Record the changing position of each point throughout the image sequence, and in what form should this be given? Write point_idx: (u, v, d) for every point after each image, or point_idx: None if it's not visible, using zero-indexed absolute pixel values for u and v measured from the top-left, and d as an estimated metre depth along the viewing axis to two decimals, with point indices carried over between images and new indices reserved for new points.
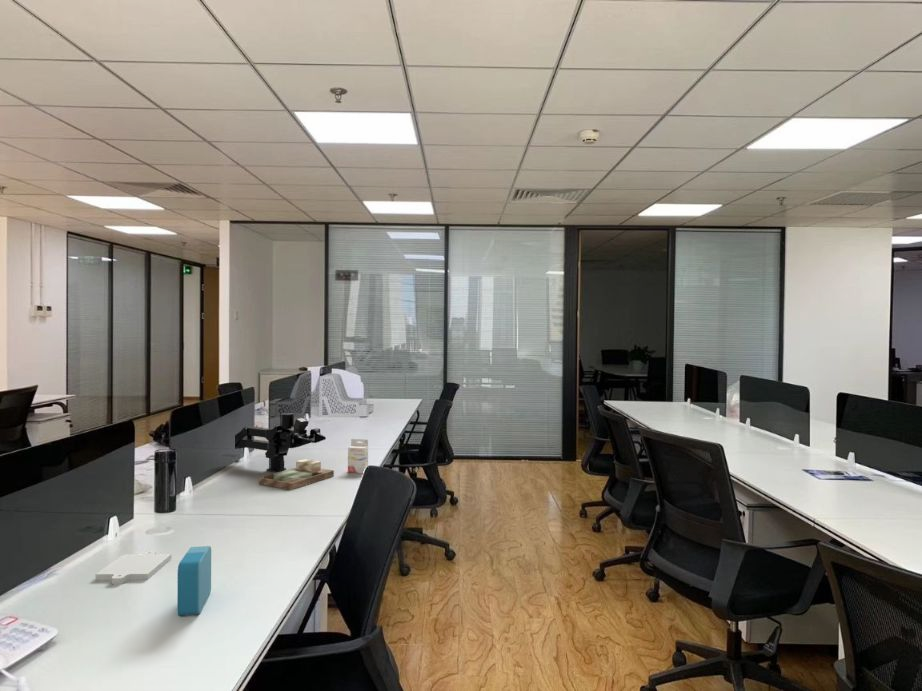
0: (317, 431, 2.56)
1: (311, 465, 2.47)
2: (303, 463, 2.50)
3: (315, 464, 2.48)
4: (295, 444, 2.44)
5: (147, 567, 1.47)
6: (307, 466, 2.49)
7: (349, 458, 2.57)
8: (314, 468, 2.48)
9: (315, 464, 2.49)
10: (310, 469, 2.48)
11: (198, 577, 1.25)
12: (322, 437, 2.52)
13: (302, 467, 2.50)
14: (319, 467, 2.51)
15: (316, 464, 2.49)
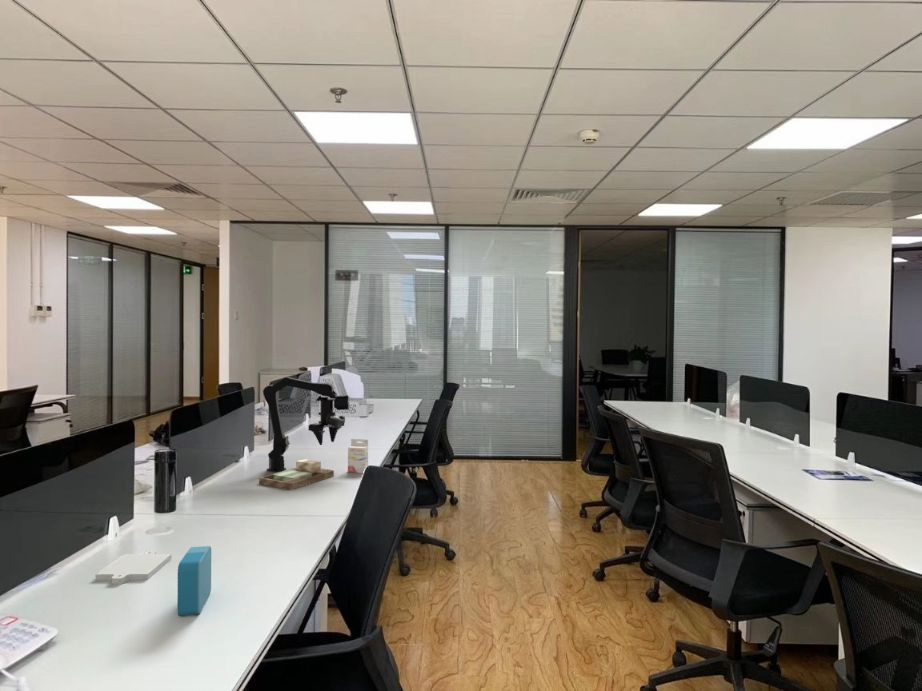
0: (338, 429, 2.66)
1: (311, 465, 2.47)
2: (303, 463, 2.50)
3: (315, 464, 2.48)
4: (314, 431, 2.57)
5: (147, 567, 1.47)
6: (307, 466, 2.49)
7: (349, 458, 2.57)
8: (314, 468, 2.48)
9: (315, 464, 2.49)
10: (310, 469, 2.48)
11: (198, 577, 1.25)
12: (332, 438, 2.65)
13: (302, 467, 2.50)
14: (319, 467, 2.51)
15: (316, 464, 2.49)
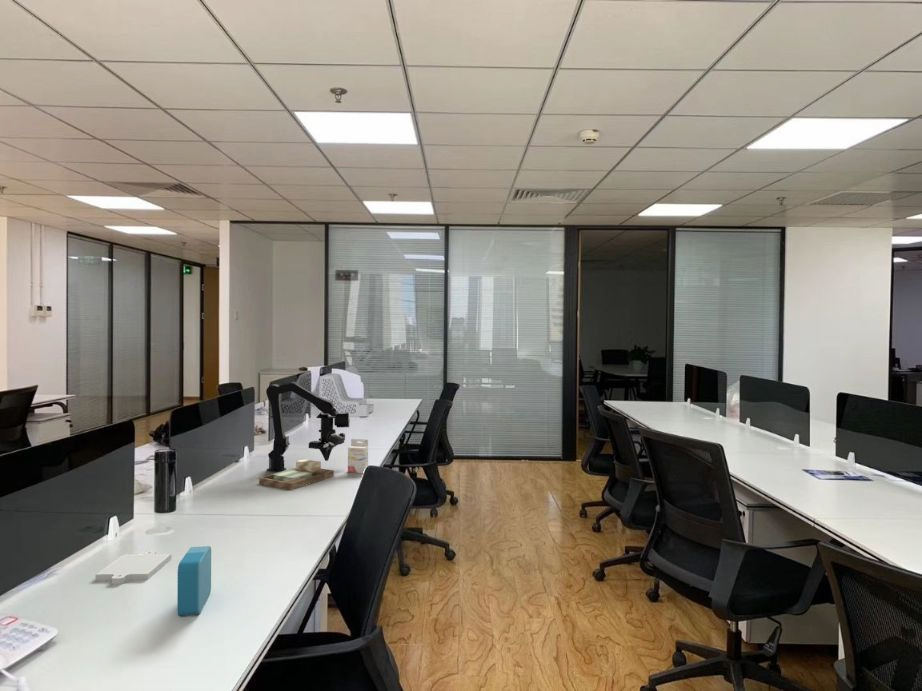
0: (332, 447, 2.62)
1: (311, 465, 2.47)
2: (303, 463, 2.50)
3: (315, 464, 2.48)
4: None
5: (148, 567, 1.47)
6: (307, 466, 2.49)
7: (349, 458, 2.57)
8: (314, 468, 2.48)
9: (315, 464, 2.49)
10: (310, 469, 2.48)
11: (198, 577, 1.25)
12: None
13: (302, 467, 2.50)
14: (319, 467, 2.51)
15: (316, 464, 2.49)
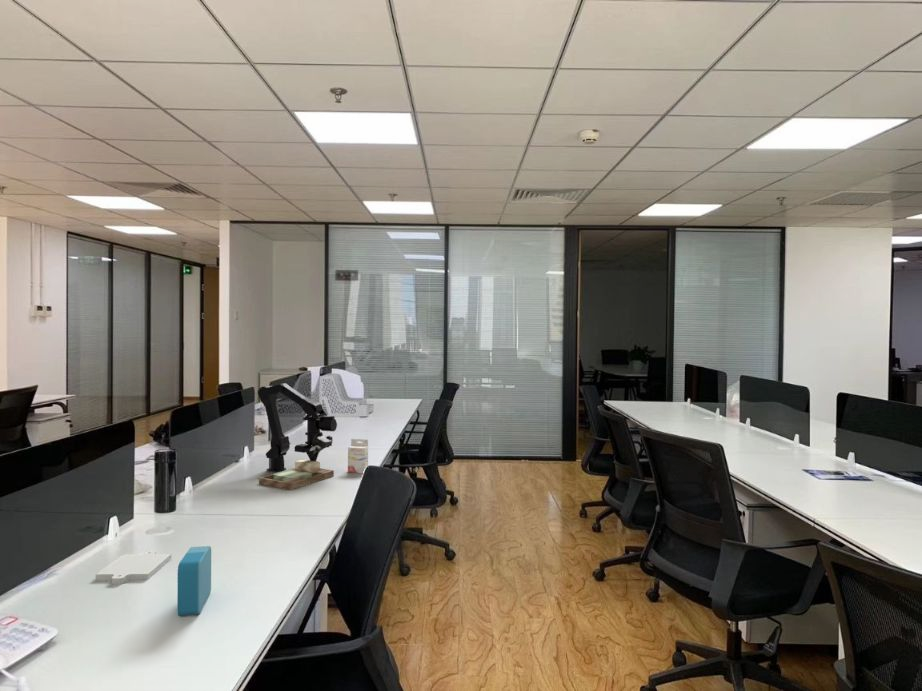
0: (319, 451, 2.55)
1: (310, 465, 2.47)
2: (302, 463, 2.49)
3: (314, 464, 2.48)
4: None
5: (148, 567, 1.47)
6: (306, 466, 2.48)
7: (349, 458, 2.57)
8: (313, 468, 2.47)
9: (315, 465, 2.48)
10: (309, 469, 2.47)
11: (198, 577, 1.25)
12: (313, 460, 2.54)
13: (301, 467, 2.49)
14: (318, 467, 2.50)
15: (315, 464, 2.49)
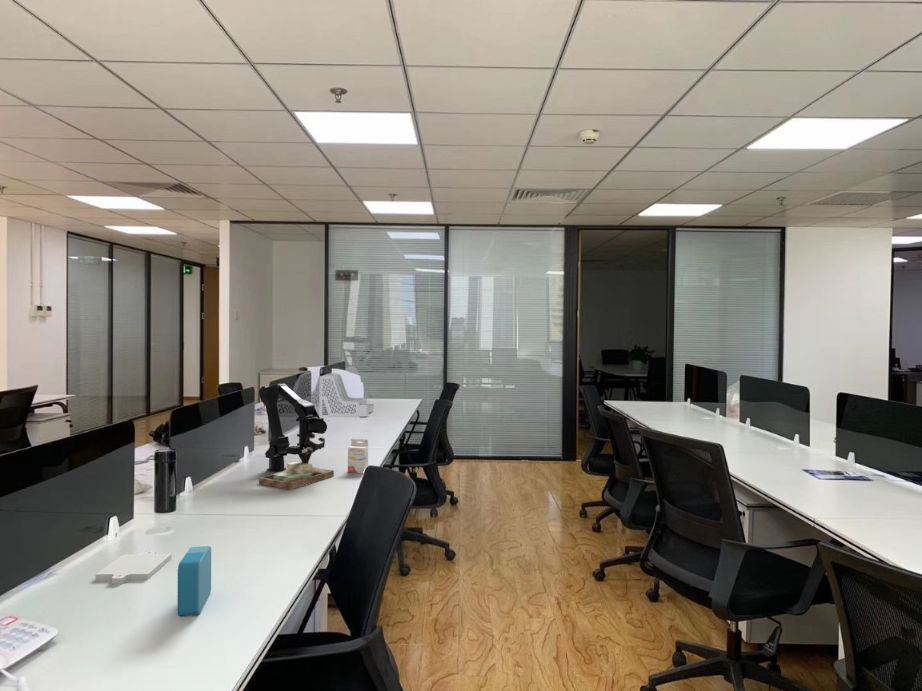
0: (312, 452, 2.50)
1: (302, 468, 2.42)
2: (294, 466, 2.45)
3: (306, 467, 2.44)
4: None
5: (148, 567, 1.47)
6: (298, 469, 2.44)
7: (349, 458, 2.57)
8: (305, 471, 2.43)
9: (307, 467, 2.44)
10: (301, 472, 2.43)
11: (198, 577, 1.25)
12: (306, 462, 2.50)
13: (293, 470, 2.45)
14: (310, 470, 2.46)
15: (308, 467, 2.44)
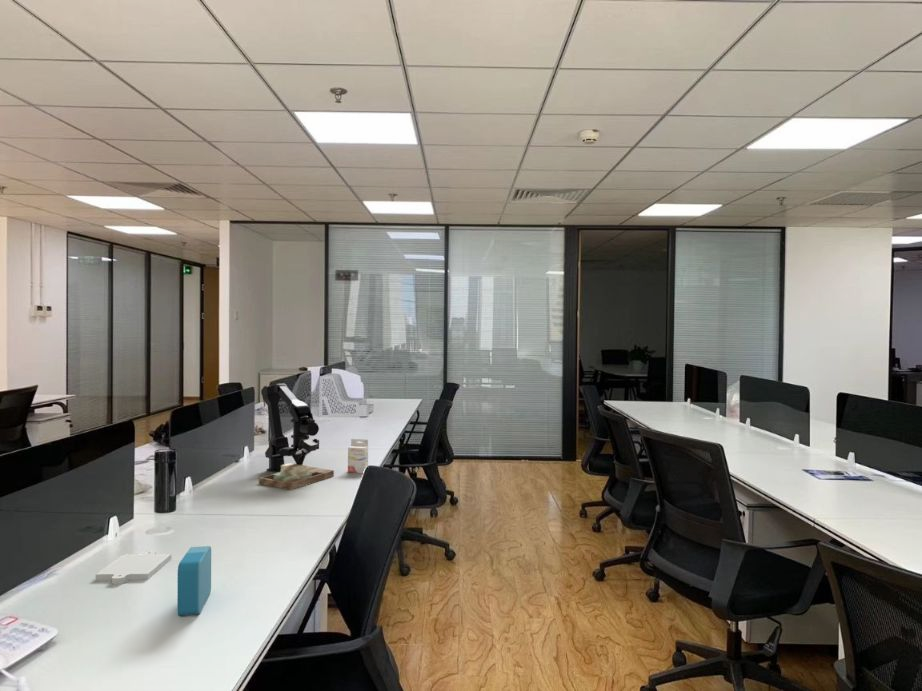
0: (306, 454, 2.47)
1: (296, 469, 2.39)
2: (288, 467, 2.42)
3: (300, 468, 2.40)
4: None
5: (148, 567, 1.47)
6: (292, 470, 2.40)
7: (349, 458, 2.57)
8: (299, 472, 2.40)
9: (301, 469, 2.41)
10: (295, 473, 2.40)
11: (198, 577, 1.25)
12: (300, 464, 2.47)
13: (287, 471, 2.42)
14: (304, 471, 2.43)
15: (302, 468, 2.41)
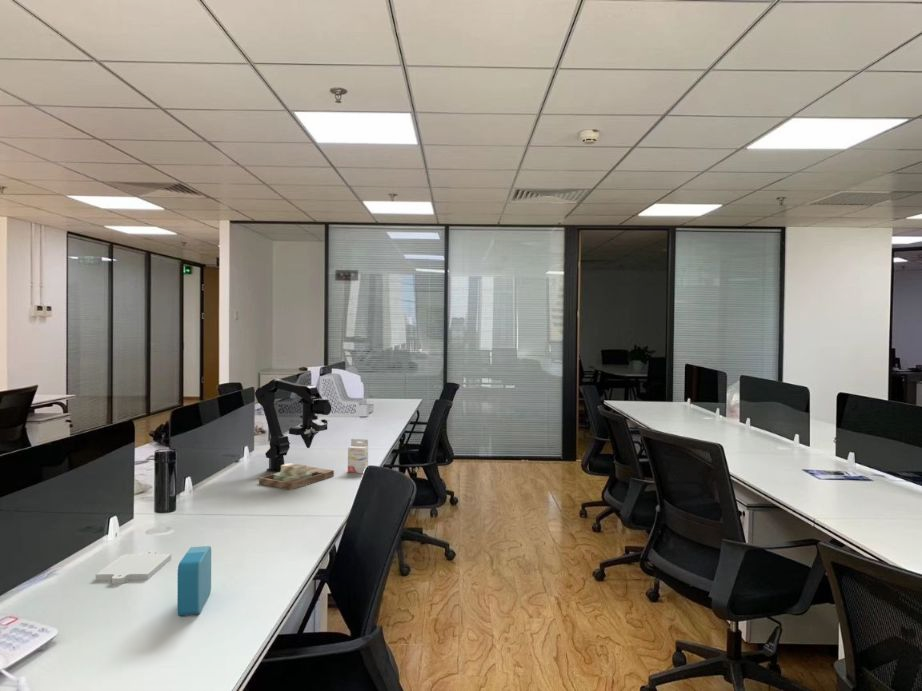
0: (314, 434, 2.53)
1: (296, 469, 2.39)
2: (288, 467, 2.42)
3: (300, 468, 2.40)
4: None
5: (148, 567, 1.47)
6: (292, 470, 2.40)
7: (349, 458, 2.57)
8: (299, 472, 2.40)
9: (301, 469, 2.41)
10: (295, 473, 2.40)
11: (198, 577, 1.25)
12: None
13: (287, 471, 2.42)
14: (304, 471, 2.43)
15: (302, 468, 2.41)
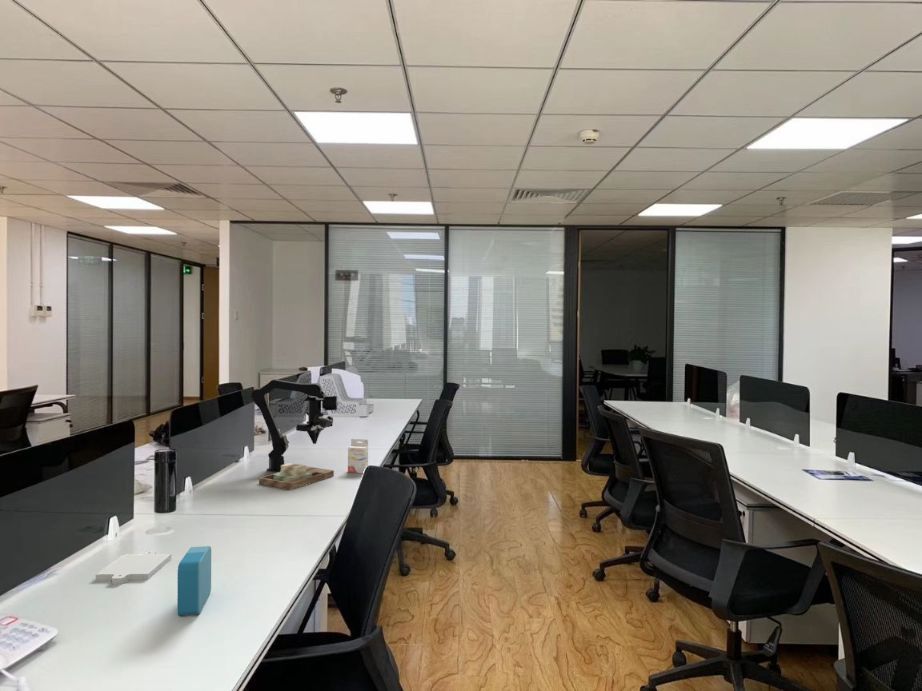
0: (320, 430, 2.62)
1: (296, 469, 2.39)
2: (288, 467, 2.42)
3: (300, 468, 2.40)
4: (307, 430, 2.60)
5: (148, 567, 1.47)
6: (292, 470, 2.40)
7: (349, 458, 2.57)
8: (299, 472, 2.40)
9: (301, 469, 2.41)
10: (295, 473, 2.40)
11: (198, 577, 1.25)
12: None
13: (287, 471, 2.42)
14: (304, 471, 2.43)
15: (302, 468, 2.41)
